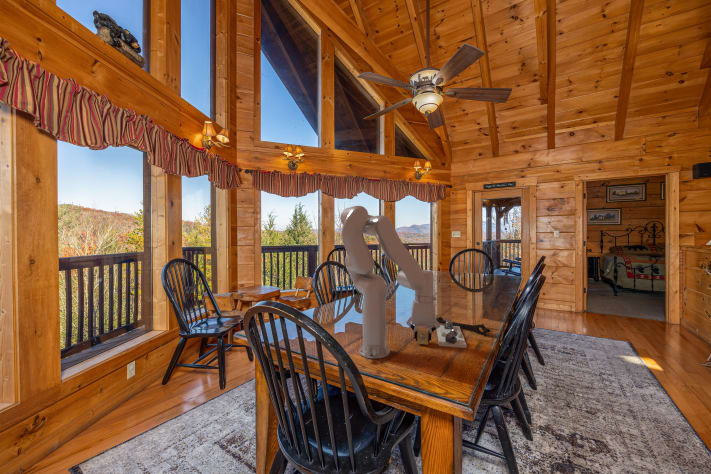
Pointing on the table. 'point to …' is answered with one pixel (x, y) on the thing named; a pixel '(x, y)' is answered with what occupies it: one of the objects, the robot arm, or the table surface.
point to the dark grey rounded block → (451, 336)
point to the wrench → (468, 326)
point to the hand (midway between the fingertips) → (422, 340)
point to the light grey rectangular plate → (442, 333)
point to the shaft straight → (448, 324)
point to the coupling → (422, 336)
